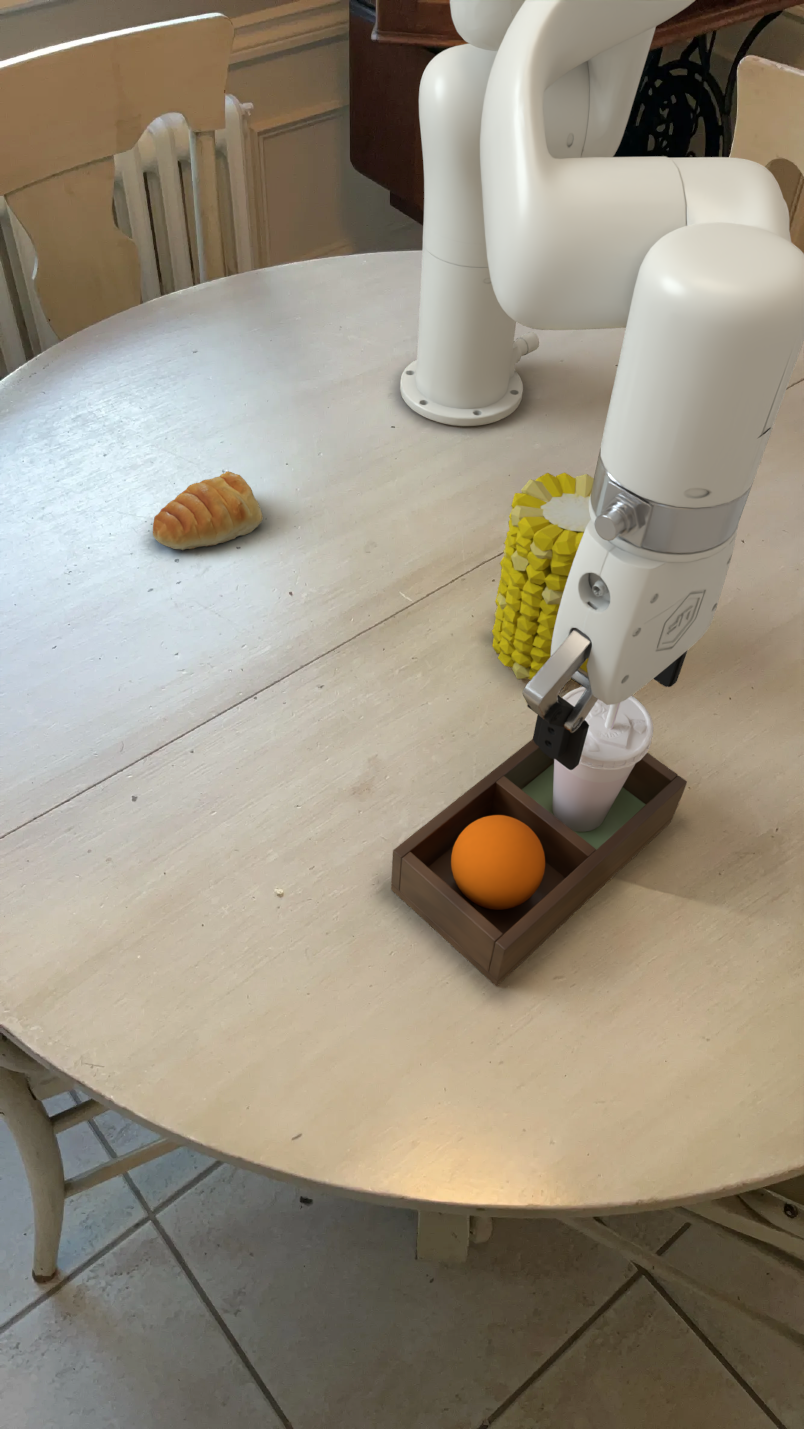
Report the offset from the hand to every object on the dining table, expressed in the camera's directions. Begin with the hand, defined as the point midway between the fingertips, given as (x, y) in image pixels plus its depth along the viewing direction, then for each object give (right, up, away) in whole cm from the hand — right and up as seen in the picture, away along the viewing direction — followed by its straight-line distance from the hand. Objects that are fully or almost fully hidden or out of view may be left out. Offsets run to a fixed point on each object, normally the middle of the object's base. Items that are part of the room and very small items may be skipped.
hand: (605, 712), depth 66 cm
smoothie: (0, -7, +8) cm, 11 cm away
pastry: (-30, +17, +28) cm, 44 cm away
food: (-1, +5, +20) cm, 21 cm away
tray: (-4, -10, +7) cm, 12 cm away
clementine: (-7, -10, +2) cm, 12 cm away
